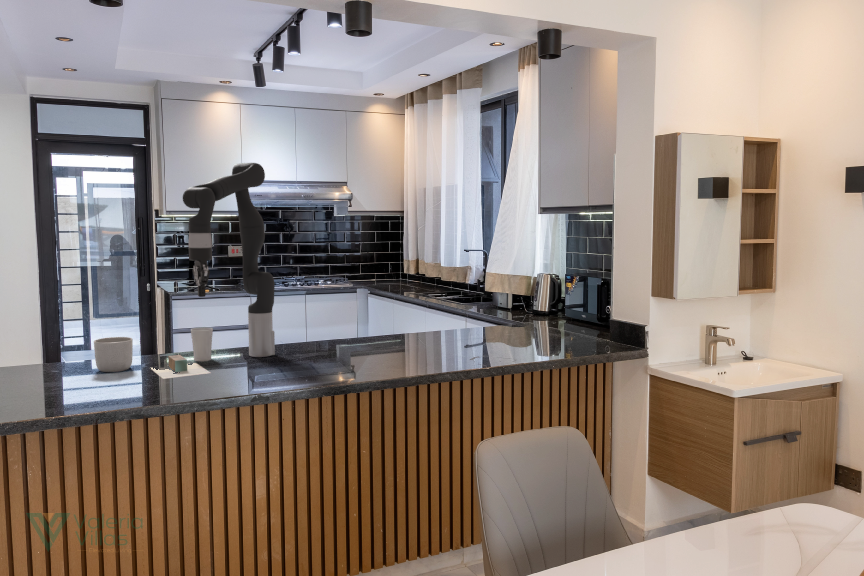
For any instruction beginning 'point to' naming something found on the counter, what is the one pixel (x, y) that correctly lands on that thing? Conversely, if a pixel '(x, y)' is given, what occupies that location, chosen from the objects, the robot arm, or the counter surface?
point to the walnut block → (177, 363)
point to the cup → (202, 343)
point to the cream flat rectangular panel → (191, 370)
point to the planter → (113, 353)
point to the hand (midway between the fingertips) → (201, 296)
